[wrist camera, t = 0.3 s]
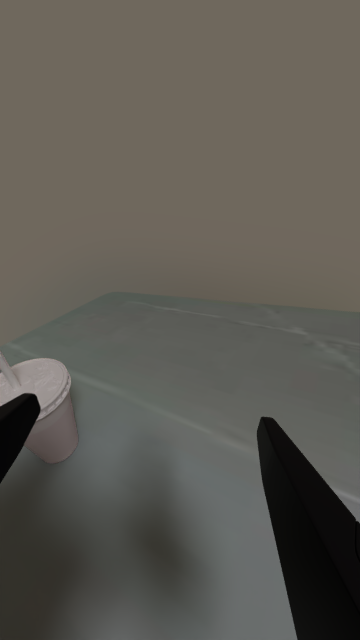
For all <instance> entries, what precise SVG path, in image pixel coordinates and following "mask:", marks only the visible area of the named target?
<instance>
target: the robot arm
mask: <svg viewBox="0 0 360 640" xmlns="http://www.w3.org/2000/svg"><path fill="white" fill-rule="evenodd" d="M40 411H41V407H40V404H39V401H38V398H37V396H36V395H35V394H33V393H23V394H21V395H19V396H18V397H16V398H14V399H12V400H11V401H9V402H7V403H5V404H3V405H2V406H0V483H1V482H2V480H3V478H4V477H5V475H6V474H7V472H8V470H9V469H10V467H11V466H12V464H13V462H14V461H15V459H16V458H17V456H18V454H19V453H20V451H21V449H22V447H23V445H24V443H25V442H26V440H27V438H28V436H29V434H30V432H31V430H32V428H33V426H34V424H35V422H36V420H37V418H38V416H39V414H40ZM257 442H258V450H259V459H260V467H261V475H262V482H263V487H264V492H265V496H266V500H267V505H268V509H269V514H270V518H271V523H272V527H273V532H274V536H275V541H276V545H277V550H278V554H279V559H280V563H281V568H282V572H283V577H284V581H285V586H286V590H287V595H288V599H289V604H290V608H291V612H292V617H293V621H294V626H295V630H296V635H297V639H298V640H360V523H359V522H358V521H356V519H355V517H354V516H353V515H352V513H351V512H350V511H349V510H348V509H347V507H346V506H345V505H344V504H343V503H342V501H341V500H340V499H339V498H338V496H337V495H336V494H335V493H334V492H333V490H332V489H331V488H330V487H329V485H328V484H327V483H326V482H325V481H324V479H323V478H322V477H321V476H320V474H319V473H318V472H317V471H316V470H315V468H314V467H313V466H312V465H311V464H310V462H309V461H308V460H307V459H306V457H305V456H304V455H303V454H302V453H301V451H300V450H299V449H298V448H297V446H296V445H295V444H294V443H293V442H292V440H291V439H290V438H289V437H288V436H287V434H286V433H285V432H284V431H283V429H282V428H281V427H280V426H279V425H278V423H277V422H276V421H275V420H274V419H273V418H271V417H261V419H260V422H259V426H258V429H257Z"/></svg>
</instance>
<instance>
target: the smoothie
mask: <svg viewBox="0 0 360 640" xmlns="http://www.w3.org/2000/svg"><path fill="white" fill-rule="evenodd" d="M0 370H1V371H2V373H0V406H2V405H3V404H5V403H7V402H9V401H11V400H12V399H14V398H16V397H18V396H19V395H21V394H23V393H33V394H35V395H36V396H37V398H38V401H39V404H40V407H41V411H40V414H39V416H38V418H37V420H36V422H35V424H34V426H33V428H32V430H31V432H30V434H29V436H28V438H27V440H26V442H25V443H24V446H25V447H27V448H28V449H29V450H31V451H32V452H33V453H34V454H36V455H37V456H38V457H39V458H41V459H42V460H43V461H45V462H46V463H51V464H53V463H58V462H61V461H63V460H65V459H66V458H68V457H69V456H70V455H71V454H72V453H73V452H74V450H75V449H76V447H77V444H78V433H77V428H76V423H75V417H74V412H73V407H72V402H71V397H70V392H69V389H70V386H71V377H70V375H69V373H68V371H67V369H66V367H65V366H64V365H63V364H62V363H61V362H59V361H57V360H54V359H49V358H38V359H32V360H28V361H24V362H21V363H19V364H16V365H14V366H12V367H10V366H9V365H8V363H7V361H6V359H5V358H4V356H3V354H2V353H1V351H0Z"/></svg>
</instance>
